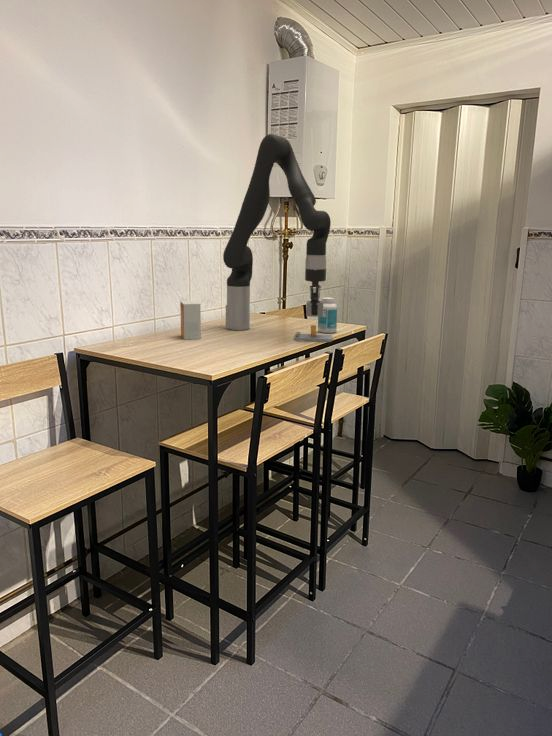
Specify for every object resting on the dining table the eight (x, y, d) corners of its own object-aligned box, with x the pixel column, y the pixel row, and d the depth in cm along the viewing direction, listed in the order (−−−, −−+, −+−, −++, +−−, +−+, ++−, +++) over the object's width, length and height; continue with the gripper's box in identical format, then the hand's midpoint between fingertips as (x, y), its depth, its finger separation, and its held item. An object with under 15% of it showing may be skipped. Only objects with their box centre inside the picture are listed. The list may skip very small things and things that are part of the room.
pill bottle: (336, 330, 233) (337, 297, 230) (336, 333, 226) (337, 299, 223) (317, 329, 234) (319, 296, 231) (317, 333, 227) (318, 298, 224)
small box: (180, 335, 217) (180, 300, 213) (197, 335, 218) (197, 300, 215) (183, 339, 209) (183, 303, 206) (201, 339, 211) (200, 303, 208)
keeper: (293, 340, 211) (293, 327, 210) (295, 336, 220) (295, 323, 219) (331, 342, 210) (332, 328, 209) (332, 337, 219) (332, 324, 218)
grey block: (306, 316, 210) (306, 302, 209) (307, 313, 216) (307, 300, 215) (322, 316, 210) (323, 303, 209) (323, 314, 216) (323, 301, 214)
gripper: (306, 266, 216) (305, 310, 220) (304, 268, 202) (303, 316, 206) (326, 266, 215) (325, 311, 219) (325, 269, 202) (324, 317, 206)
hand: (314, 313), depth 213 cm, fingers closed on grey block, 6 cm apart
